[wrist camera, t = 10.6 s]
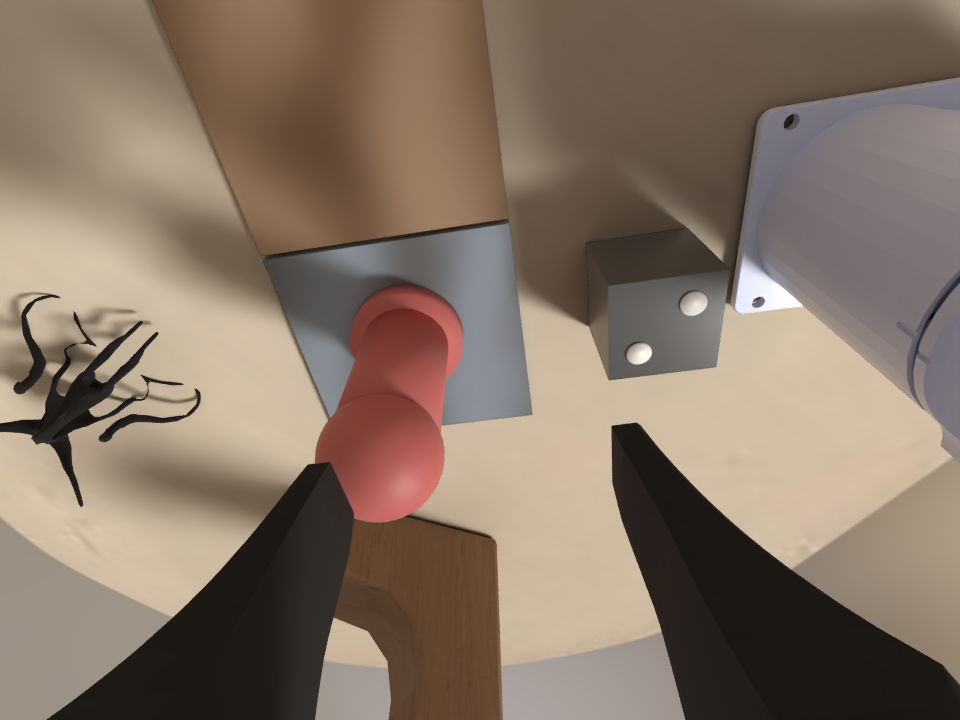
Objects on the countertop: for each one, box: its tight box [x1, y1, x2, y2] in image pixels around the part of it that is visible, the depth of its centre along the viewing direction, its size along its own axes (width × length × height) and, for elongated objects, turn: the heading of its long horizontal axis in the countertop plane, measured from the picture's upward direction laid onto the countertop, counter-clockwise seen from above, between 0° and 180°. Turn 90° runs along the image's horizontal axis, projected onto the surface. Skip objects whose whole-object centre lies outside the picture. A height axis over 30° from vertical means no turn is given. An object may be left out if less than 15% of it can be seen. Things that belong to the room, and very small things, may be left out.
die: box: [586, 228, 730, 380], centre depth 19 cm, size 4×4×4 cm
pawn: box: [315, 284, 463, 523], centre depth 18 cm, size 5×5×10 cm
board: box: [152, 0, 532, 426], centre depth 17 cm, size 10×30×1 cm, turn 9°
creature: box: [0, 295, 201, 507], centre depth 21 cm, size 8×5×8 cm
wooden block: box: [334, 516, 503, 720], centre depth 23 cm, size 9×4×18 cm, turn 68°
